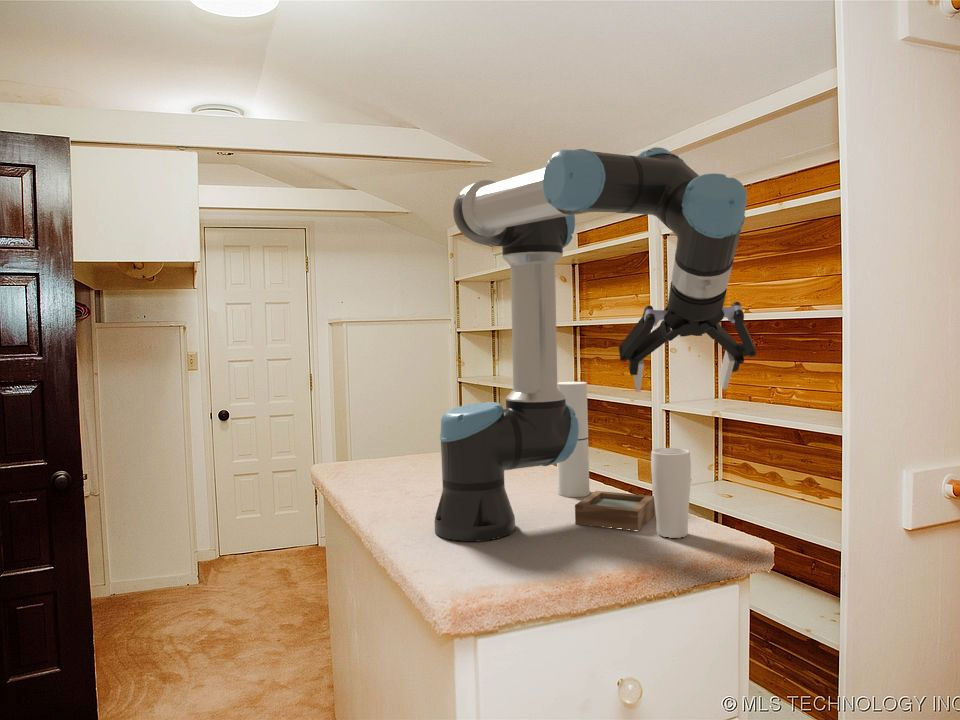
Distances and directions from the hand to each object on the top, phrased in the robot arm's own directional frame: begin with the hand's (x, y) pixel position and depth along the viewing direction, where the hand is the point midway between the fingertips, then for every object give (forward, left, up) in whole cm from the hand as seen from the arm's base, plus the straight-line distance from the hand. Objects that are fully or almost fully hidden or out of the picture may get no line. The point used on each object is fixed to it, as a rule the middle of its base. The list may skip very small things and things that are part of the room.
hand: (679, 384), depth 107 cm
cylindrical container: (+30, +31, -28) cm, 51 cm away
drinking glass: (+8, +4, -28) cm, 29 cm away
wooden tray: (+14, +16, -28) cm, 35 cm away
